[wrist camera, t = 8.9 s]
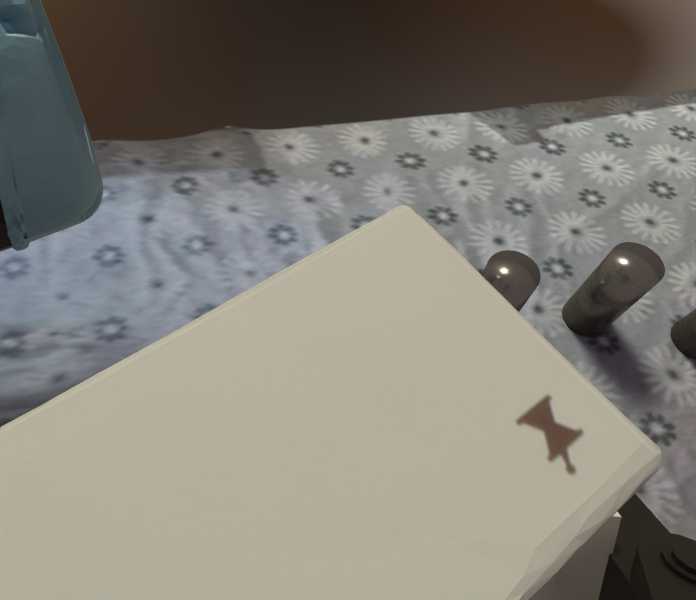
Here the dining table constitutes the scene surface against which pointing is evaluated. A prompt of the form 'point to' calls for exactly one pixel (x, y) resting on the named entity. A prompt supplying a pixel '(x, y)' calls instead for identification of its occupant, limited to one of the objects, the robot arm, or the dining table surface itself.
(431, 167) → the dining table surface
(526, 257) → the set of grey cylinders
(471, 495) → the skincare box
